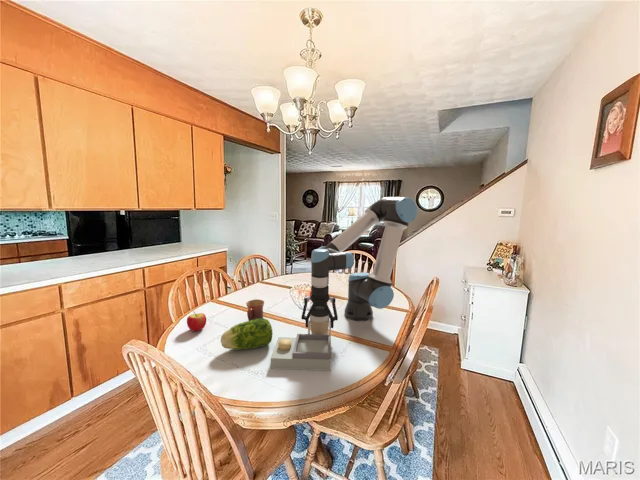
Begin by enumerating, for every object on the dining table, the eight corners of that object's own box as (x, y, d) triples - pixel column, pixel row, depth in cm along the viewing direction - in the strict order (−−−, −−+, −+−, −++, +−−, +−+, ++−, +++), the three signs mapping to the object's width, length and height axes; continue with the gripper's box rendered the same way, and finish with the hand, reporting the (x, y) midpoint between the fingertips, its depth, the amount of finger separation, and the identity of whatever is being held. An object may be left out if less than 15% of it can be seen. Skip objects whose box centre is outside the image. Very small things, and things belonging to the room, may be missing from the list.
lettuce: (219, 346, 111) (218, 321, 109) (267, 335, 120) (267, 312, 119) (223, 361, 101) (221, 334, 99) (275, 348, 110) (275, 323, 108)
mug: (251, 317, 139) (251, 298, 137) (267, 319, 137) (267, 300, 135) (240, 328, 127) (239, 307, 125) (257, 330, 125) (256, 309, 124)
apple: (183, 332, 122) (181, 312, 121) (197, 324, 130) (196, 305, 129) (197, 335, 120) (195, 314, 118) (210, 327, 128) (209, 307, 126)
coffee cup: (332, 335, 121) (332, 304, 118) (325, 346, 112) (326, 312, 110) (313, 332, 123) (313, 301, 121) (306, 342, 115) (306, 309, 113)
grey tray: (330, 347, 111) (330, 334, 110) (330, 370, 96) (330, 355, 95) (278, 345, 112) (278, 332, 111) (270, 368, 97) (270, 353, 96)
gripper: (344, 282, 117) (343, 330, 121) (296, 281, 118) (296, 329, 122) (345, 288, 110) (343, 339, 113) (294, 287, 111) (294, 337, 114)
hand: (319, 334), depth 117 cm, fingers closed on coffee cup, 8 cm apart
